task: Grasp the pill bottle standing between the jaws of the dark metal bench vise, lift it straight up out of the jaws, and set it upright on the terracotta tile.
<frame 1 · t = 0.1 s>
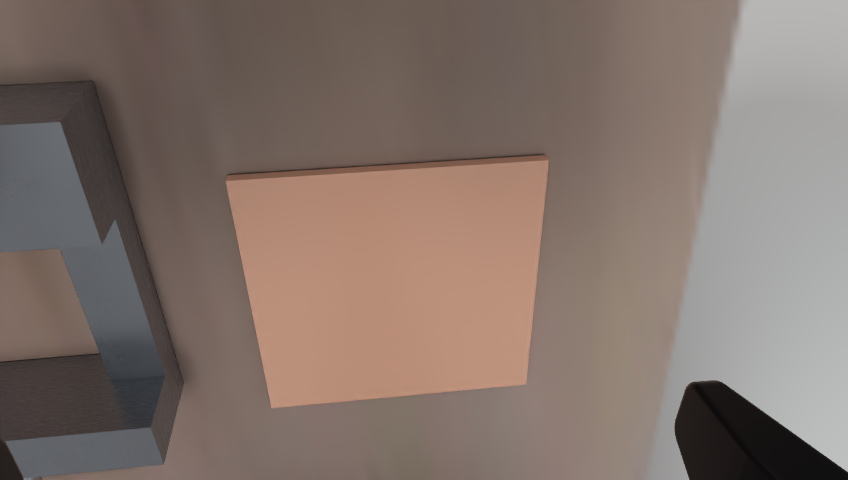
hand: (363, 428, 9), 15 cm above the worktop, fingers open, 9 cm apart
tile: (395, 290, 26), on the worktop
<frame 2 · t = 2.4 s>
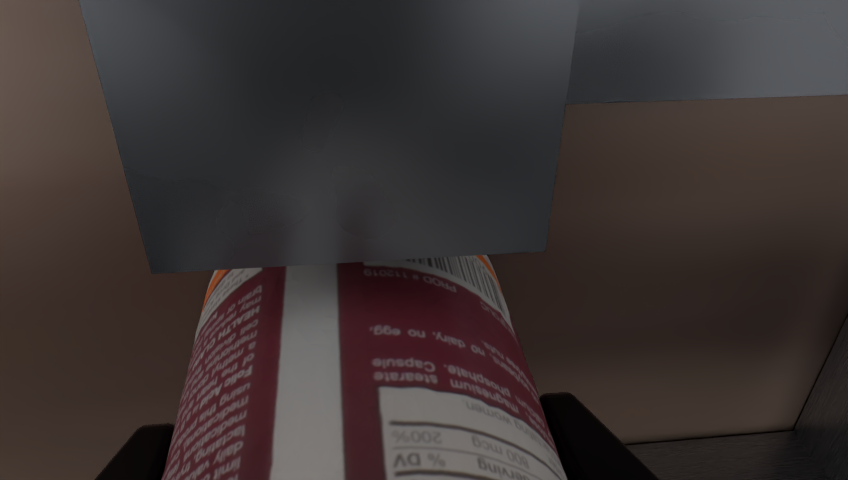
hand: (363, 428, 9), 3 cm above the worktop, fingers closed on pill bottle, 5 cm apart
vise: (357, 308, 11), on the worktop
pill bottle: (357, 300, 11), on the worktop, touching gripper
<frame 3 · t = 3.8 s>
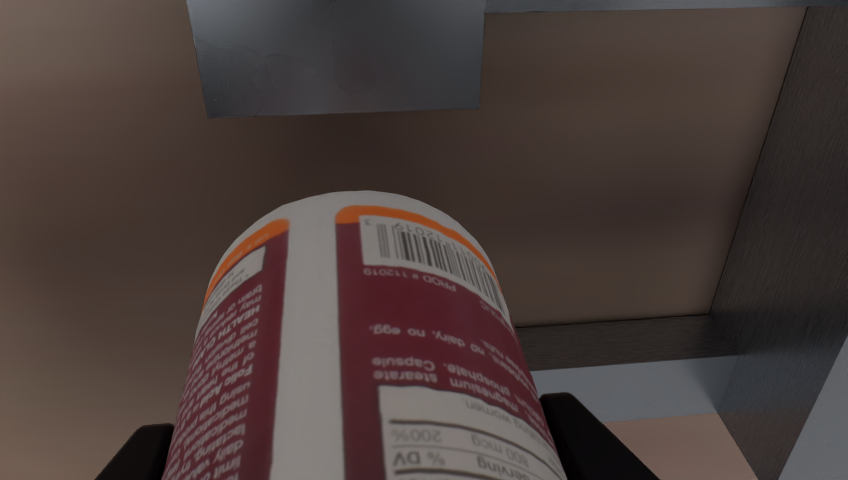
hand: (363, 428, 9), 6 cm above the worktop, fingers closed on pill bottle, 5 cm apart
vise: (351, 193, 14), on the worktop
pill bottle: (357, 299, 11), point 4 cm above the worktop, touching gripper
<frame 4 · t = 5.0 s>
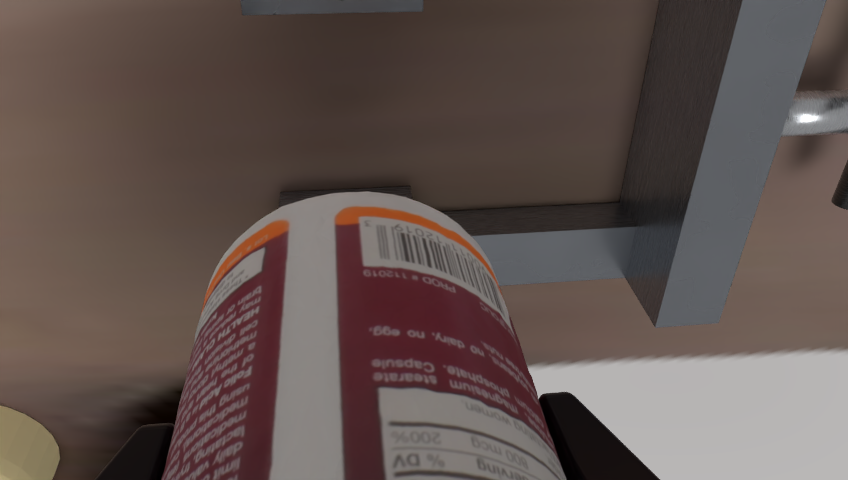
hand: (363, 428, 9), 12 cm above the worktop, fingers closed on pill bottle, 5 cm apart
vise: (340, 94, 19), on the worktop
pill bottle: (357, 300, 11), point 10 cm above the worktop, touching gripper
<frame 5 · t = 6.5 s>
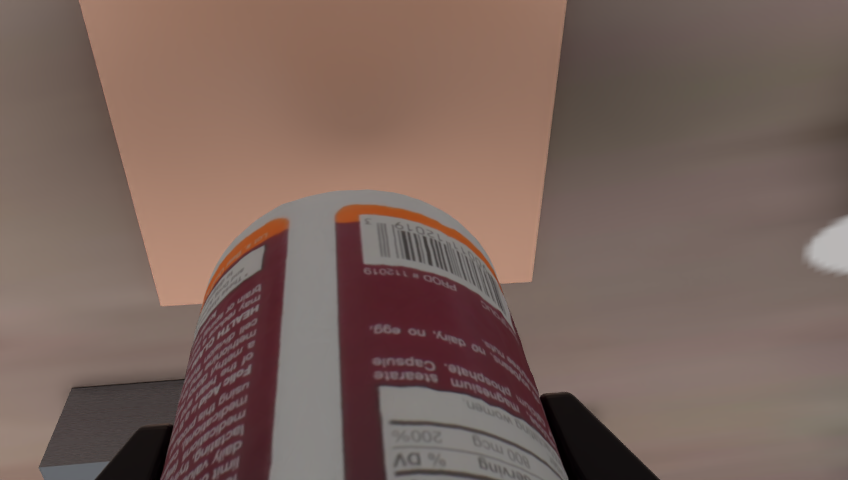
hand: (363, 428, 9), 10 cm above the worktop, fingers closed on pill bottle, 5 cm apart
tile: (340, 116, 17), on the worktop
pill bottle: (357, 299, 11), point 8 cm above the worktop, touching gripper
when the fingers open (4 cm above the worktop, at t = 7.8 s): pill bottle drops 1 cm, resting on tile.
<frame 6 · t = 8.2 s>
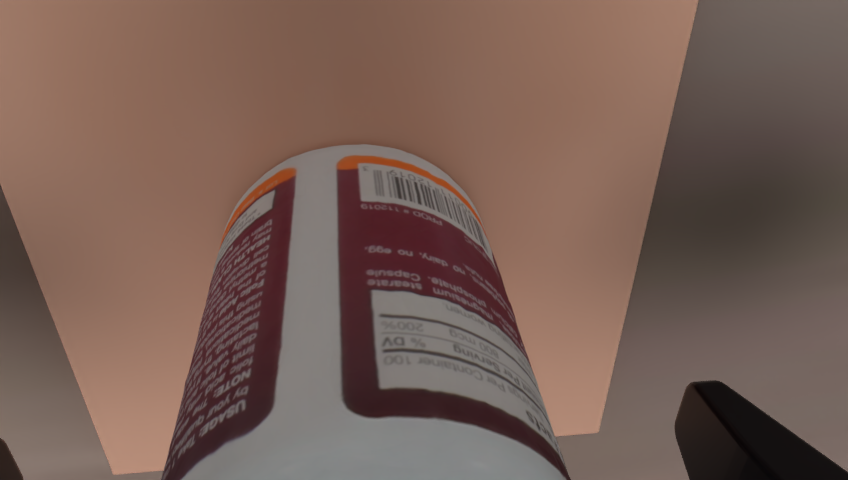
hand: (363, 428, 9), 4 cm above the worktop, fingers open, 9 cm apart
tile: (352, 243, 13), on the worktop
pill bottle: (358, 249, 12), resting on tile
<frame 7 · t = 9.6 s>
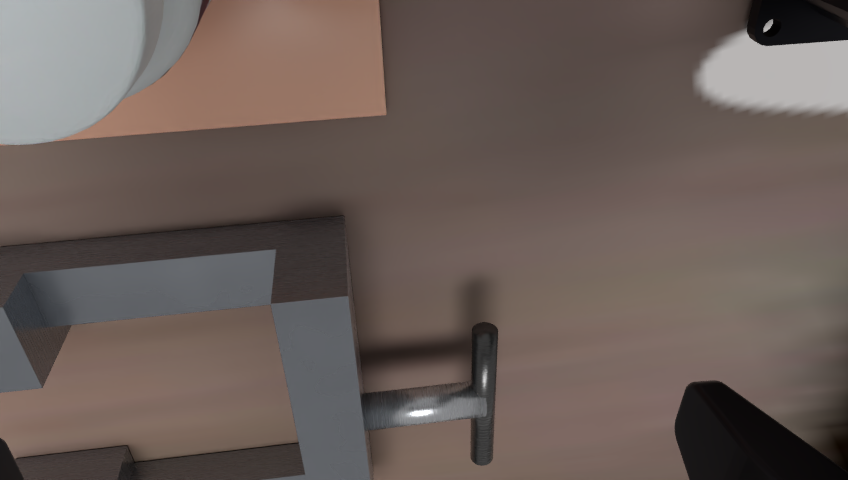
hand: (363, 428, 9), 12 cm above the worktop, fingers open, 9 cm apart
vise: (42, 394, 23), on the worktop
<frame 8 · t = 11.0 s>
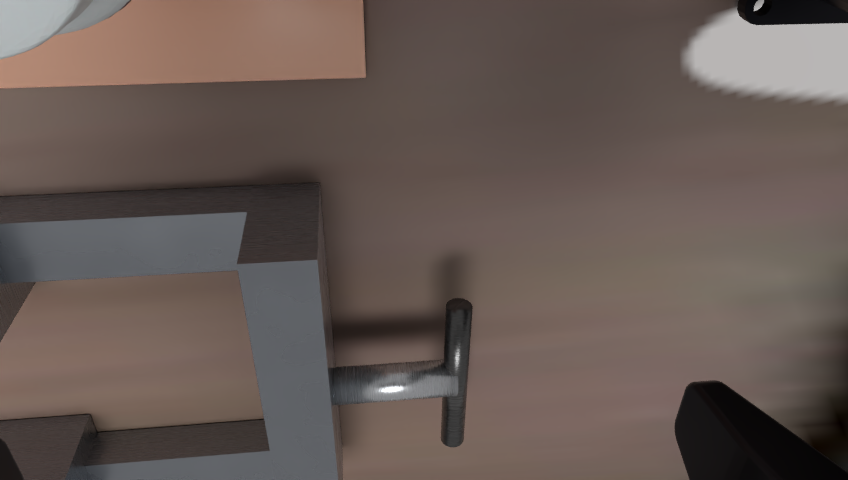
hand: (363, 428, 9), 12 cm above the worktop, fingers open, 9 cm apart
vise: (3, 356, 23), on the worktop
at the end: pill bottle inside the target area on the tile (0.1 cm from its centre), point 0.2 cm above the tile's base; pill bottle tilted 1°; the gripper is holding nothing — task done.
